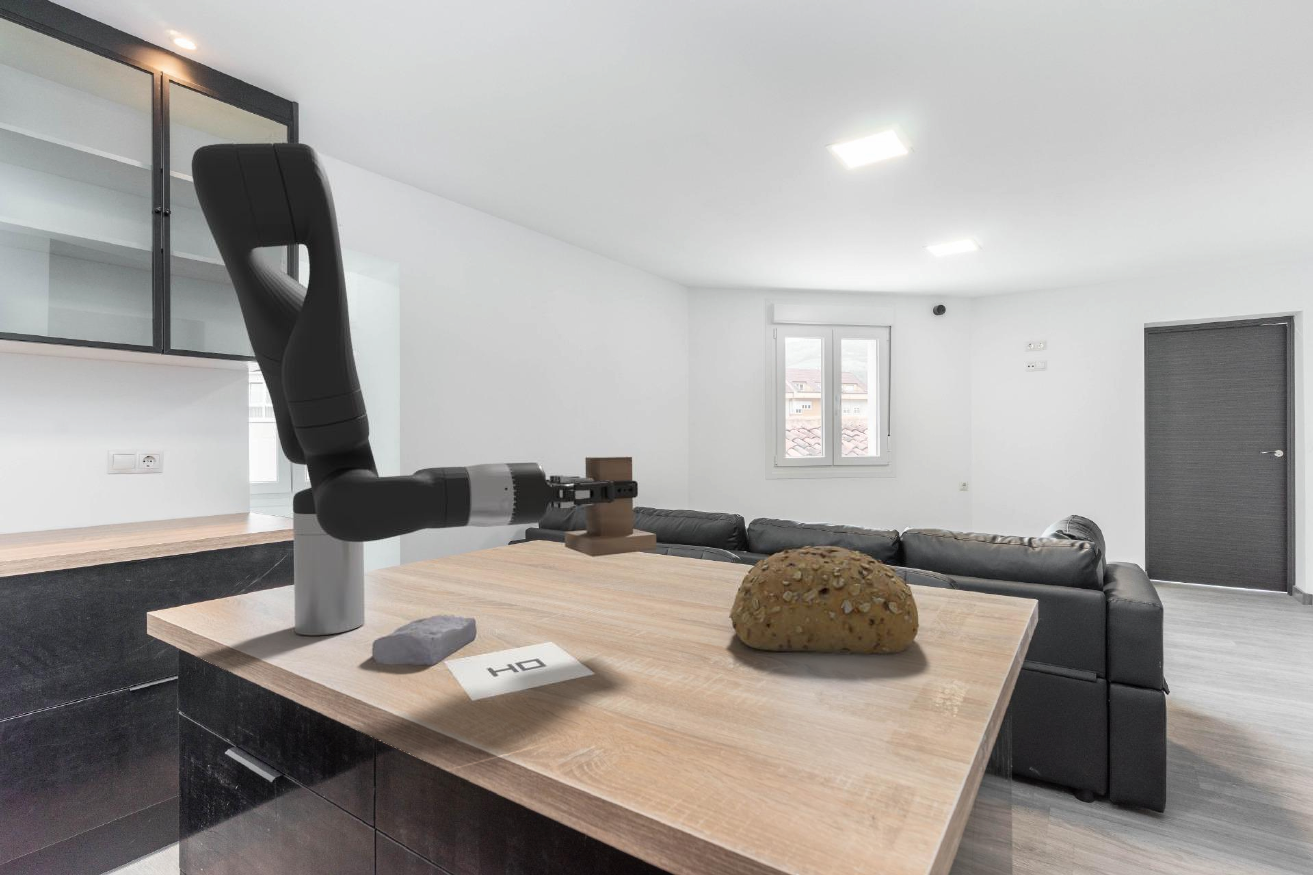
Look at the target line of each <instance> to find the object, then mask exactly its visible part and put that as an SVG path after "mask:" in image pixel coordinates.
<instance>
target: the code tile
mask: <svg viewBox="0 0 1313 875" xmlns="http://www.w3.org/2000/svg"><path fill="white" fill-rule="evenodd" d="M443 663H444V665H445V666H446V667H447V668H448V669H449V671H450V672H451V675H452V676H454V678H455V679H456V680H457V682H458V683H459V685H460V686H461V688H462V689H463V690H464V691H465V692H466V695H468V697H469V698H470V699H471V701H472V702H473V701H477V700H482V699H486V698H491V697H495V696H496V697H497V696H500V695H504V694H509V693H513V692H518V691H524V690H527V689H531V688H533V689H534V688H537V687H541V686H546V685H551V684H554V683H560V682H564V681H569V680H573V679H578V678H582V677H587V676H593V675H596V673H595V672H593V671H592V670H591V669H589V668H588V667H587V666H585V665H584V664H582V663H581V662H579V660H577V659H576V658H574V657H573V656H572V655H570V654H569V653H567V652H566V651H565V650H563V649H562V648H561V647H559V646H558V645H556V644H555V643H554V642H553V641H547V642H544V643H537V644H531V645H527V646H521V647H520V646H519V647H516V648H510V649H505V650H500V651H494V652H493V651H492V652H488V653H484V654H477V655H472V656H467V657H462V658H456V659H450V660H443Z"/></svg>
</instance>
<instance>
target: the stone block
mask: <svg viewBox="0 0 1313 875" xmlns="http://www.w3.org/2000/svg"><path fill="white" fill-rule="evenodd" d="M476 621H477V620H476V618H474V617H473V616H472V617H465V616H464V617H463V616H457V615H454V614H452V615H451V614H450V615H449V614H438V615H433V616H430V617H424V618H421V619H420V618H419V619H416V620H413V621H411V622H409V623H407V624H404V625H402V626H400V627H398V628H397V629H396V630H394V631H393V632H392V633H389V634H388V635H386V636H382V637H379V638H377V639H375V640H373V643H372V645H371V646H372V647H371V648H372V650H371V652H372V656H373V660H374V661H375V663H378V664H385V665H413V666H414V665H415V666H435V665H437V664H439V663H441V662H442V661H445V659H446V658H448V657H450V656H452V655H453V654H454V653H456V652H457V651H459V650H460V649H462V648H463V647H465V646H467V645H468V644H470V643H471V642H473V641H474V640H475V639H476V637H477V628H478V627H477V622H476Z"/></svg>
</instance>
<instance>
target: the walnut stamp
mask: <svg viewBox="0 0 1313 875" xmlns="http://www.w3.org/2000/svg"><path fill="white" fill-rule="evenodd" d="M585 478H592V479H593V480H594V481H605V480H609V481H633V457H632V456H591V457H589V456H588V457H585ZM602 496H603V487H601V489H600V497H602ZM633 500H634V498H622V499H614V502H611V503H607V502H606V503H596V504H593V505H585V509H586V510H585V516H586V520H585V522H586V524H585V525H586V529H585V530H574V531H564V547H565V548H567V549H570V550H573V551H576V552H578V553H581V554H584V555H587V556H590V557H601V556H604V557H605V556H612V555H619V554H629V553H639V552H647V551H656V550H657V533H654V532H653V533H652V532H649V531H643V530H640V529H635V528H634V505H633V503H634V502H633Z"/></svg>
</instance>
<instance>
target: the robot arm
mask: <svg viewBox="0 0 1313 875" xmlns="http://www.w3.org/2000/svg"><path fill="white" fill-rule="evenodd" d="M191 175H192V180H193V181H192V182H193V185H194V186H193V187H194V190H195V193H196V196H197V200H198V202H199V205H200V209H201V211H202V212H203V213H202V214H203V216H204V218H205V220H206V224H207V225H208V228H209V230H210V233H211V235H212V238H213V240H214V243H215V245H216V247H217V250H218V251H219V253H220V257H221V258H222V261H223V263H224V265H225V268H226V270H227V273H228V275H229V278H230V280H231V282H232V285H233V287H234V290H235V293H236V296H237V299H238V302H239V307H240V310H241V314H242V318H243V321H244V324H245V328H246V332H247V336H248V340H249V342H250V346H251V348H252V352H253V354H254V356H255V359H256V362H257V364H258V368H259V369H260V372H261V374H262V378H263V380H264V383H265V385H266V388H267V391H268V393H269V397H270V400H271V406H272V409H273V414H274V420H275V424H276V429H277V434H278V435H277V436H278V438H279V443H280V446H281V450H282V452H283V455H284V456H285V458H286V459H287V460H288V461H289V462H291V463H293V464H296V465H303V466H304V465H305V466H306V470H307V474H308V478H309V484H310V487H308V488H305V489H302V490H300V491H298V492H296V493H295V494H294V495H293V498H292V511H293V512H292V521H293V522H292V523H293V525H292V529H293V530H292V532H293V580H294V582H293V583H294V588H293V589H294V590H293V592H294V632H295V633H297V634H298V635H304V636H323V635H324V636H325V635H332V634H338V633H343V632H347V631H351V630H354V629H356V628H360V627H361V626H362V625H364V624H365V622H366V620H365V618H366V617H365V612H366V611H365V610H366V609H365V606H366V605H365V559H364V558H365V554H364V552H365V549H364V546H365V544H364V542H367V543H368V542H374V541H380V540H386V539H390V538H394V537H395V538H396V537H400V536H404V535H407V534H412V533H415V532H418V531H422V530H426V529H428V530H429V529H447V528H448V529H449V528H462V527H463V528H464V527H475V528H488V527H489V528H491V527H501V526H502V527H503V526H515V525H516V526H518V525H529V524H530V525H531V524H538V523H540V522H542V521H543V519H544V518H545V517H546V514H547V509H548V506H549V507H553V508H554V507H555V508H556V507H557V508H556V509H570V508H571V507H575V506H576V507H581V506H582V507H583V506H586V505H593V504H596V503H606V502H607V503H611V502H614V499H622V498H633V499H634V498H637V497H638V495H639V494H638V493H639V486H638V485H639V484H638V482H637V481H636V480H632V481H609V480H605V481H594V480H593V479H592V478H586V477H580V476H578V475H577V476H575V475H573V476H571V475H570V476H568V475H561V474H560V475H558V474H557V475H556V474H555V475H549V479H547V475H546V473H545V470H544V468H543V467H542V466H541V465H540V464H539V463H538V462H511V463H510V462H508V463H507V462H505V463H503V462H502V463H500V462H499V463H481V464H480V463H479V464H474V465H468V466H467V465H465V466H447V467H446V466H443V467H442V466H440V467H427V468H426V467H425V468H422V469H418V470H416V471H415V472H414V473H413V474H409V475H407V474H405V475H393V476H392V475H391V476H379V472H378V469H377V466H376V462H375V458H374V454H373V451H372V447H371V443H370V440H369V438H370V437H369V436H370V425H369V424H370V423H369V419H368V413H367V408H366V404H365V400H364V399H365V398H364V397H363V390H362V388H361V383H360V379H359V376H358V371H357V366H356V361H355V355H354V349H353V343H352V334H351V325H350V314H349V313H350V312H349V301H348V296H347V294H348V293H347V286H346V285H347V284H346V277H345V270H344V262H343V256H342V248H341V238H340V232H339V225H338V219H337V213H336V208H335V202H334V196H333V192H332V188H331V184H330V180H329V176H328V173H327V171H326V169H325V166H324V164H323V161H322V159H321V157H320V156H319V154H318V153H317V152H316V150H315V149H314V148H313V147H311V146H310V145H308V144H305V143H299V142H274V143H272V142H270V143H264V142H263V143H261V142H260V143H259V142H258V143H215V144H214V143H213V144H207V145H203V146H201V147H198V148H197V149H196V150H195V151H194V153H193V156H192V160H191ZM296 245H298V246H299V245H304V246H305V248H306V249H307V255H308V265H309V266H308V267H309V272H308V283H307V287H306V286H304V284H301V283H300V282H299V281H297V280H296V279H294V278H292V277H291V276H290V275H288V274H287V273H286V272H284V271H283V270H282V269H280V268H279V267H278V266H277V265H276V264H275V263H273V261H272V260H270V259H269V257H268V256H267V255H266V254H265V253H264V251H263V249H262V248H275V247H284V246H296ZM601 487H603V496H602V497H600V489H601Z"/></svg>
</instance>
